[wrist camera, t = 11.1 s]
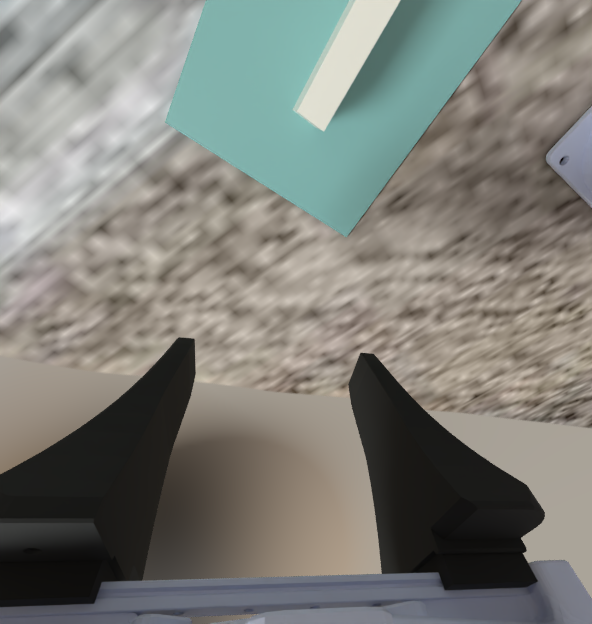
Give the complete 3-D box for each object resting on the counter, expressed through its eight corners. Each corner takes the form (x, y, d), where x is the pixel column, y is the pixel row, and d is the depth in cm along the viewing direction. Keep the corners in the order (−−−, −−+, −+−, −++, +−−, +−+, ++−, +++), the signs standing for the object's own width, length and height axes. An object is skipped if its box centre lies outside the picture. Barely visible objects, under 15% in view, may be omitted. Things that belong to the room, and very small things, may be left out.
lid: (525, -16, 14) (609, -56, 11) (344, 232, 20) (359, 259, 17) (315, -306, 10) (340, -532, 6) (169, 121, 16) (140, 126, 13)
